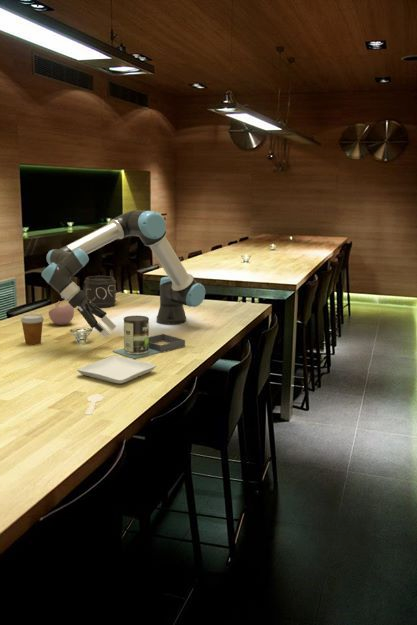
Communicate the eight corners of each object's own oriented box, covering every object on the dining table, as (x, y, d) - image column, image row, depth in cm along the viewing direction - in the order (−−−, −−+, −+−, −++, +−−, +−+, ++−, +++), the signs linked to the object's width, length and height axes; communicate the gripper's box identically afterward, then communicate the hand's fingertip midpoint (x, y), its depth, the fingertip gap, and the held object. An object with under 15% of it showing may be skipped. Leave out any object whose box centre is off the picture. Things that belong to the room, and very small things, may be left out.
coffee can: (152, 348, 253) (151, 316, 250) (144, 355, 244) (144, 321, 241) (128, 347, 255) (128, 314, 252) (120, 353, 246) (120, 319, 243)
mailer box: (163, 340, 269) (163, 333, 268) (184, 346, 259) (185, 339, 259) (112, 351, 249) (112, 344, 249) (133, 359, 240) (133, 351, 239)
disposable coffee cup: (49, 342, 262) (48, 315, 260) (36, 347, 253) (34, 319, 251) (30, 339, 265) (29, 313, 263) (17, 345, 256) (15, 317, 254)
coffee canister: (114, 308, 332) (113, 280, 329) (81, 308, 332) (81, 280, 329) (119, 302, 350) (119, 275, 346) (88, 301, 350) (88, 275, 347)
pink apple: (66, 320, 302) (65, 298, 300) (79, 325, 294) (78, 302, 292) (44, 324, 294) (43, 301, 292) (57, 328, 286) (56, 305, 283)
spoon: (79, 415, 182) (79, 414, 182) (89, 395, 200) (89, 393, 199) (97, 415, 182) (97, 414, 182) (105, 395, 200) (105, 393, 200)
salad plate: (120, 389, 206) (120, 379, 206) (75, 377, 217) (75, 368, 217) (158, 373, 224) (158, 364, 223) (114, 363, 235) (114, 354, 234)
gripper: (75, 296, 258) (110, 331, 260) (59, 307, 233) (98, 346, 236) (87, 284, 256) (122, 319, 259) (73, 294, 232) (112, 333, 235)
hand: (111, 332), depth 248 cm, fingers open, 13 cm apart
